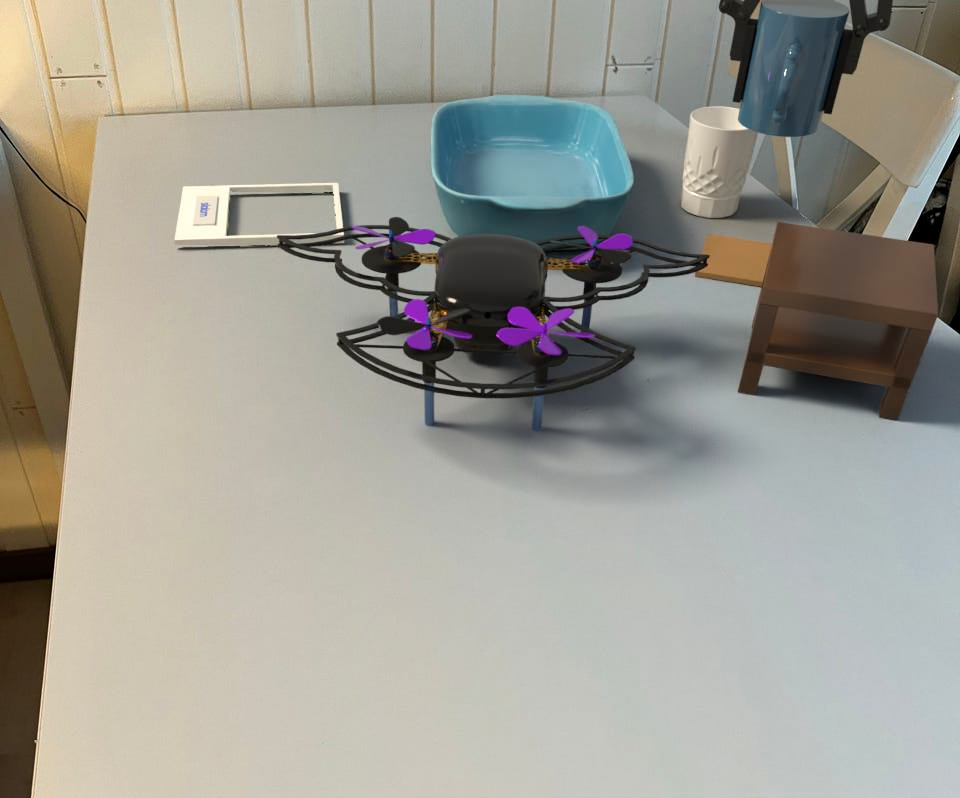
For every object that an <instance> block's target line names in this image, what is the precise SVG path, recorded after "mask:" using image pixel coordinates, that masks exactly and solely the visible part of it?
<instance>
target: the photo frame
mask: <svg viewBox="0 0 960 798" xmlns="http://www.w3.org/2000/svg"><path fill="white" fill-rule="evenodd" d="M325 190H333V193H332V194H334V196H333V205H334V204H335V206H334V215H335V214H336V216H335V225H336V229H340V228H344V223H343V214H342V206H341V197H340V187H339V182H313V183H309V182H308V183H275V184H274V183H271V184H233V185H231V184H230V185H229V184H228V185H226V184H225V185H194V186H193V185H192V186H189V185H187V186H185V185H184V186H183V187H182V193H181V197H180V204H179V210H178V216H177V222H176V227H175V235H174V245H265V246H264V247H266V246H267V245H270V246H278V244H279V239H278V238H277V235H308V234H316V233H317V232H312V233H310V232H307V233H277V234H273V233H272V234H246V235H245V234H244V235H243V234H242V235H228V236H227V228H228V229H229V223H228V214H229V215H230V211H229V199H230V200H231V198H230V191H232V192H238V191H239V192H325ZM228 212H229V213H228ZM341 236H345V232H341V233H338V234H334V235H330V236H324V237H318V238H309V239H289V240H291V241H293V242H294V243H297V244H300V243H313V242H319V241H325V240H330V239H334V238H338V237H341ZM283 244H285V243H283ZM332 244H345V240H343V241H339V242H336V243H332ZM332 244H331V245H332ZM267 247H268V246H267Z"/></svg>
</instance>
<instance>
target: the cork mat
mask: <svg viewBox="0 0 960 798" xmlns="http://www.w3.org/2000/svg"><path fill="white" fill-rule="evenodd" d="M771 246H772V242H765V241H757V240H753V239H752V240H751V239H747V238H746V239H745V238H738V237H732V236H726V235H725V236H724V235H718V234H712V233H707V235H706V238H705V241H704V244H703V247H702V250H701V253H700V254H704V255H710V257H709V258H708V259H707V263H708V266H707V267H705V268H704V269H702V270H699V271H697V272H694V277H698V278H704V279H711V280H717V281H722V282H723V281H724V282H729V283H735V284H742V285H747V286H755V287H760V288H761V287H762V282H763V278H764V274H765V270H766V266H767V262H768V258H769V254H770V250H771ZM700 263H703V262H700Z"/></svg>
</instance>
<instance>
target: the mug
mask: <svg viewBox="0 0 960 798" xmlns="http://www.w3.org/2000/svg"><path fill="white" fill-rule="evenodd" d="M850 13H851V10H850V7H848V6H847V5H846V4H844V3H841V2H839V1H837V0H760V5H759V9H758V15H757V18H756V19H757V25H756V30H755V34H754V39H753V44H752V49H751V54H750V59H749V64H748V69H747V74H746V79H745V84H744V89H743V94H742V99H741V102H740V103H739V104H740V105H739V108H738V109H739V113H738V121H739V123H740V124H741V125H743V126H744V127H746V128H748V129H750V130H753V131H755V132H758V134H763V135H767V136H774V137H782V138H797V137H806V136H810V135H813V134H815V133H817V132H818V131H819V130H820V128H821V123H822V120H823V115H824V108H825V104H826V100H827V96H828V93H829V89H830V85H831V81H832V77H833V73H834V69H835V65H836V62H837V58H838V54H839V50H840V46H841V42H842V38H843V35H844V31H845V29H846V27H847V23H848V18H849V15H850Z"/></svg>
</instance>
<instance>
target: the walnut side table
mask: <svg viewBox="0 0 960 798" xmlns="http://www.w3.org/2000/svg"><path fill="white" fill-rule="evenodd" d="M771 243H772V246H771V250H770V254H769V258H768V262H767V266H766V270H765V274H764V278H763V282H762V287H760V291H759V294H758V299H757V303H756V306H755V307H756V308H755V310H754V311H755V312H754V315H753V320H752V324H751V333H750V337H749V342H748V345H747V346H748V347H747V351H746V356H745V359H744V362H743V363H744V364H743V366H742V372H741V376H740V379H739V384H738V389H737V393H741V394H746V395H752V396H755V395H756V394H757V391H758V387H759V384H760V379H761V375H762V372H763V367H765V366H766V367H770V368H771V367H772V368H777V369H783V370H788V371H793V372H801V373H805V374H812V375H816V376H824V377H829V378H835V379H840V380H841V379H842V380H845V381H853V382H856V383H857V382H858V383H862V384H864V383H865V384H869V385H875V386H881V387H886V388H885V391H884V394H883V396H882V398H881V402H880V404H879V407H878V418H880V419H887V420H892V421H898V420H899V418H900V415H901V412H902V410H903V407H904V405H905V402H906V399H907V397H908V395H909V394H908V393H909V391H910V389H911V387H912V384H913V381H914V378H915V376H916V373H917V371H918V368H919V366H920V364H921V361H922V358H923V355H924V353H925V350H926V347H927V345H928V342H929V339H930V337H931V334H932V331H933V329H934V326H935V324H936V322H937V319H938V317H939V308H938V307H939V306H938V305H939V304H938V291H937V274H936V273H937V272H936V259H935V257H936V256H935V244H934V243H933V244H932V243H927V242H926V243H925V242H920V241H919V242H917V241H911V240H906V239H897V238H892V237H884V236H878V235H871V234H864V233H857V232H851V231H845V230H844V231H843V230H838V229H830V228H822V227H818V226H817V227H816V226H810V225H804V224H797V223H796V224H795V223H789V222H782V221H777V222H776V225H775V229H774V234H773V237H772V242H771Z"/></svg>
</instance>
